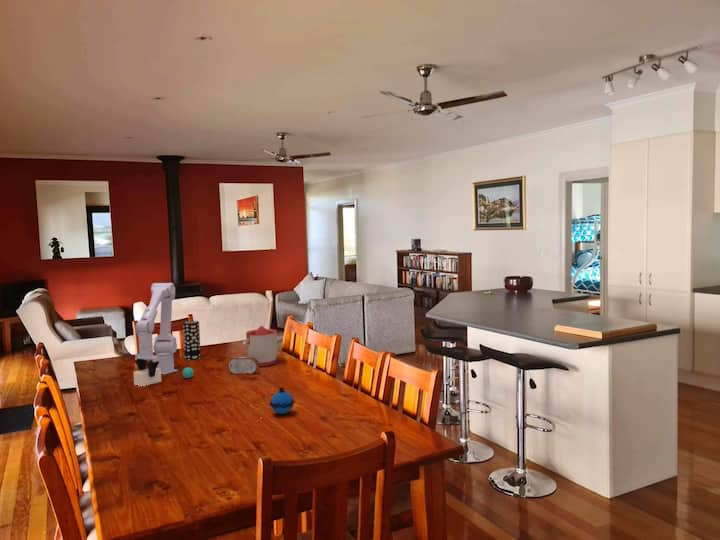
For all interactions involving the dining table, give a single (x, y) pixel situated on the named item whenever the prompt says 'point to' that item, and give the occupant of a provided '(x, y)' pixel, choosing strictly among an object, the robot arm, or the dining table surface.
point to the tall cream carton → (146, 377)
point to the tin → (243, 365)
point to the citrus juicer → (262, 345)
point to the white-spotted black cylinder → (191, 340)
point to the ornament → (282, 402)
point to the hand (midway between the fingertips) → (147, 375)
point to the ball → (188, 372)
